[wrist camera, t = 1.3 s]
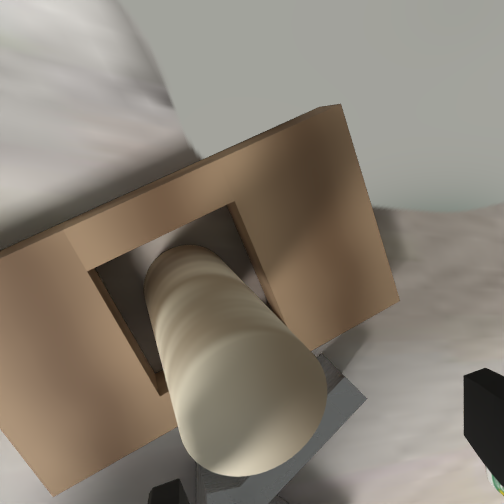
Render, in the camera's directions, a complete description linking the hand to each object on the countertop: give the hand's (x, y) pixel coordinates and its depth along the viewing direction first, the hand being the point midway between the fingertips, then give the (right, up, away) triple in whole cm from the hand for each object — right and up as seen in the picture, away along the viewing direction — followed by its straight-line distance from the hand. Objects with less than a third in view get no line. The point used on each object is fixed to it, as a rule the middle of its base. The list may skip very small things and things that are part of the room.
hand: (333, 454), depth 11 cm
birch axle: (-5, +3, +10) cm, 12 cm away
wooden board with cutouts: (-5, +3, +10) cm, 12 cm away
